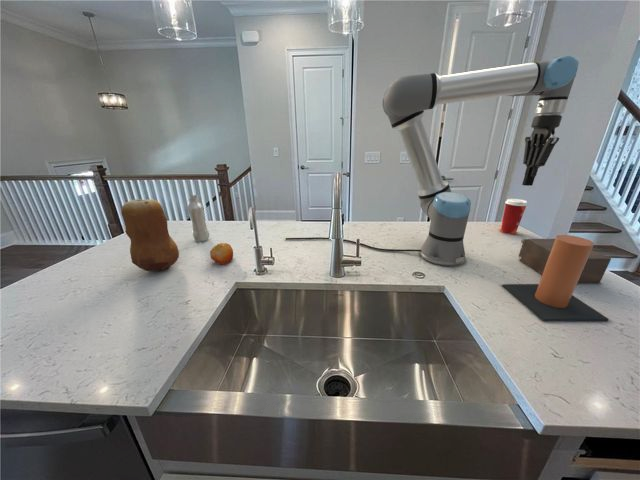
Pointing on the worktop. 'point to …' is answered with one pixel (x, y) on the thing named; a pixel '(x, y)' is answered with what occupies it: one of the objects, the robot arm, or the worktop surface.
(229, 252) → the fruit
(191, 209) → the plastic bottle
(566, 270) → the orange tall cylinder
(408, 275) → the worktop surface
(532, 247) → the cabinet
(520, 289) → the mat
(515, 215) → the coffee cup
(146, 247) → the butternut squash
